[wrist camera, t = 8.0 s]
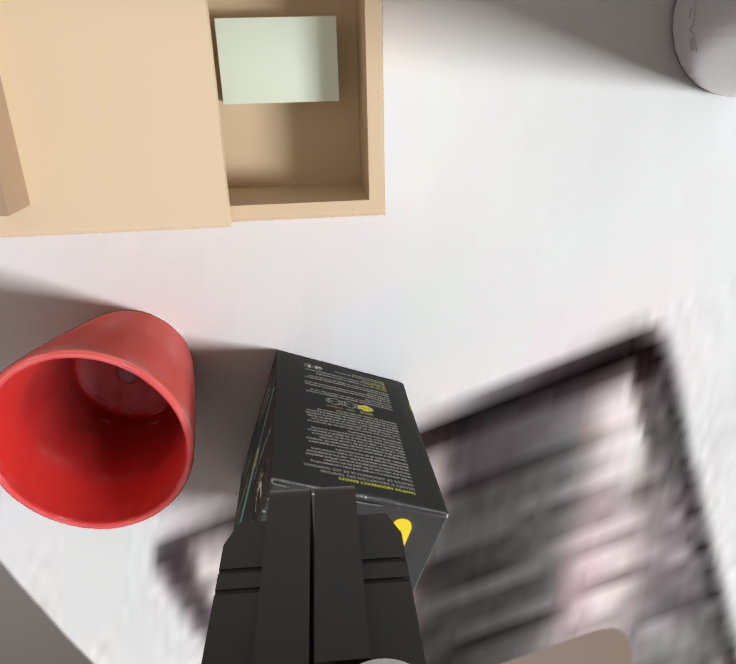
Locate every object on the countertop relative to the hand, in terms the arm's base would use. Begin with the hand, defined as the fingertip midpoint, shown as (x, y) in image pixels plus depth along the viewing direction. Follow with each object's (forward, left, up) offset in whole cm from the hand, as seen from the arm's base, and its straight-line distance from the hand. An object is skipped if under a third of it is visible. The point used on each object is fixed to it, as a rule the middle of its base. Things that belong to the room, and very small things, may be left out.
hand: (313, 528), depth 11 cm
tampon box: (0, +16, -30) cm, 34 cm away
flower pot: (+12, +10, -30) cm, 33 cm away
